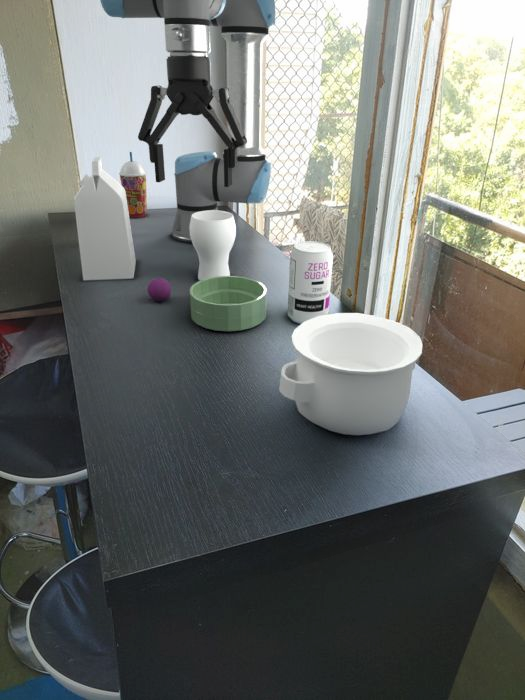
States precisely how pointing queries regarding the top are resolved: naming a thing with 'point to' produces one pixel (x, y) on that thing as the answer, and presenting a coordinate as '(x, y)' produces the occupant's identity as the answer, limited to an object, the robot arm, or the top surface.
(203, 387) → the top surface
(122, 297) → the top surface
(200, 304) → the bowl
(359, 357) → the pot
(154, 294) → the ball
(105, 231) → the milk
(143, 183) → the smoothie
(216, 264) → the cup
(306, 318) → the supplement can
